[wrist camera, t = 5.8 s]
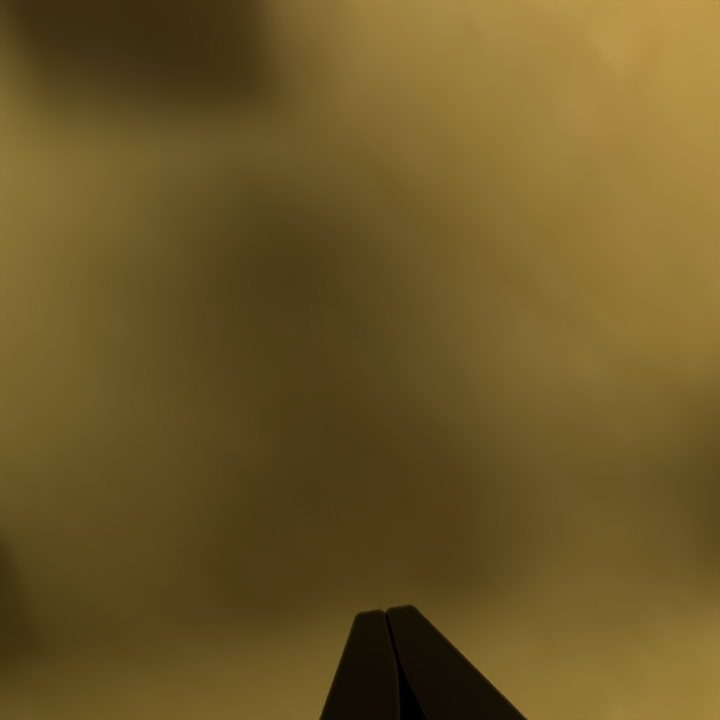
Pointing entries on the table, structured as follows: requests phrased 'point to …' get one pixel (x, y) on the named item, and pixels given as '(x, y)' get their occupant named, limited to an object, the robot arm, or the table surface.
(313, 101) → the table surface
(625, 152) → the table surface
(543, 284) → the table surface
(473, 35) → the table surface
